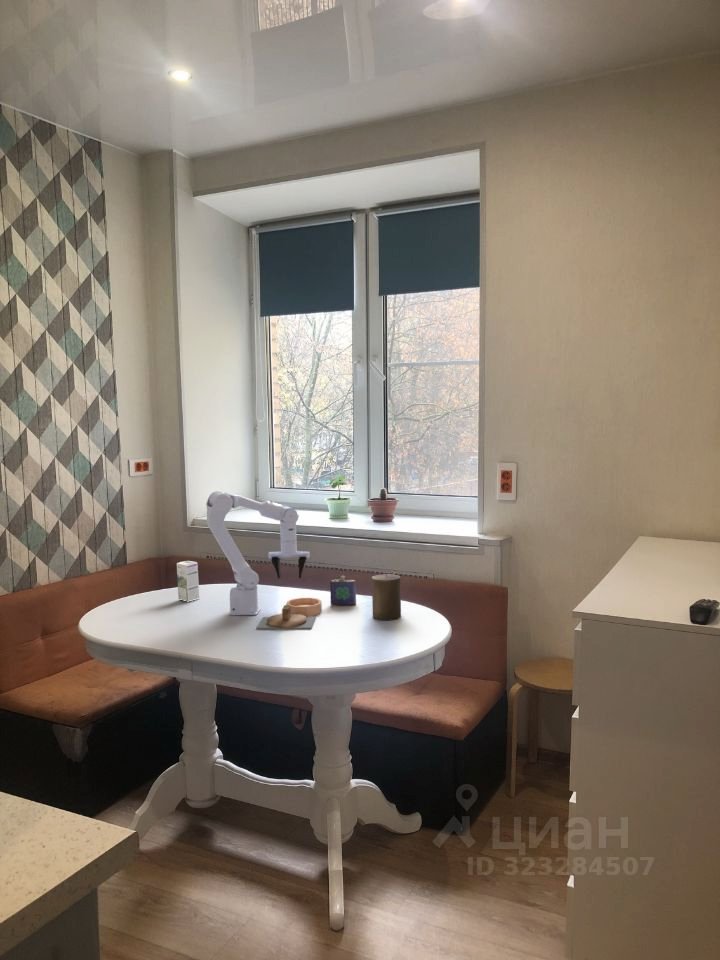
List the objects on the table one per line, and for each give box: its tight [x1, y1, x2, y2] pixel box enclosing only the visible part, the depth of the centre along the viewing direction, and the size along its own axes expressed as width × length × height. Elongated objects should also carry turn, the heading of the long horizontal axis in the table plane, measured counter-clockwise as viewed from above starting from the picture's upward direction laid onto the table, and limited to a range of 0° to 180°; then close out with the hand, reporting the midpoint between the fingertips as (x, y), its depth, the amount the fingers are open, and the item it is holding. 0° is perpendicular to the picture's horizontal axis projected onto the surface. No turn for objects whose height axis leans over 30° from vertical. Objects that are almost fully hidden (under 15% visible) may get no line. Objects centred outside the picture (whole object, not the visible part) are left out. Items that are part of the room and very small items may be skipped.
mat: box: [255, 616, 317, 630], centre depth 241 cm, size 18×12×1 cm, turn 87°
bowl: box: [285, 597, 323, 617], centre depth 255 cm, size 12×12×4 cm
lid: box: [267, 604, 306, 628], centre depth 241 cm, size 13×13×5 cm
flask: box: [329, 575, 357, 607], centre depth 262 cm, size 9×3×11 cm, turn 87°
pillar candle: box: [371, 573, 402, 621], centre depth 246 cm, size 10×10×15 cm
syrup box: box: [176, 560, 200, 601], centre depth 274 cm, size 6×6×14 cm
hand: (289, 577), depth 262 cm, fingers open, 7 cm apart
